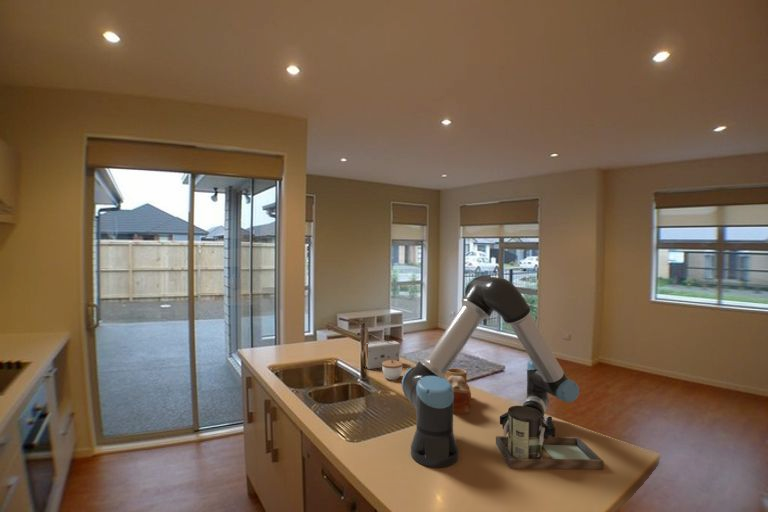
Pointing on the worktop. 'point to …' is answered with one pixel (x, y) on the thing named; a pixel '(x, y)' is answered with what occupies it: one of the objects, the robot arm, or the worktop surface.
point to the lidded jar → (392, 369)
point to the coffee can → (524, 432)
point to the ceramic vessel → (459, 390)
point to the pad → (564, 452)
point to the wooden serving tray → (590, 463)
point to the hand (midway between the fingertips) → (522, 436)
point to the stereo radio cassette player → (382, 353)
